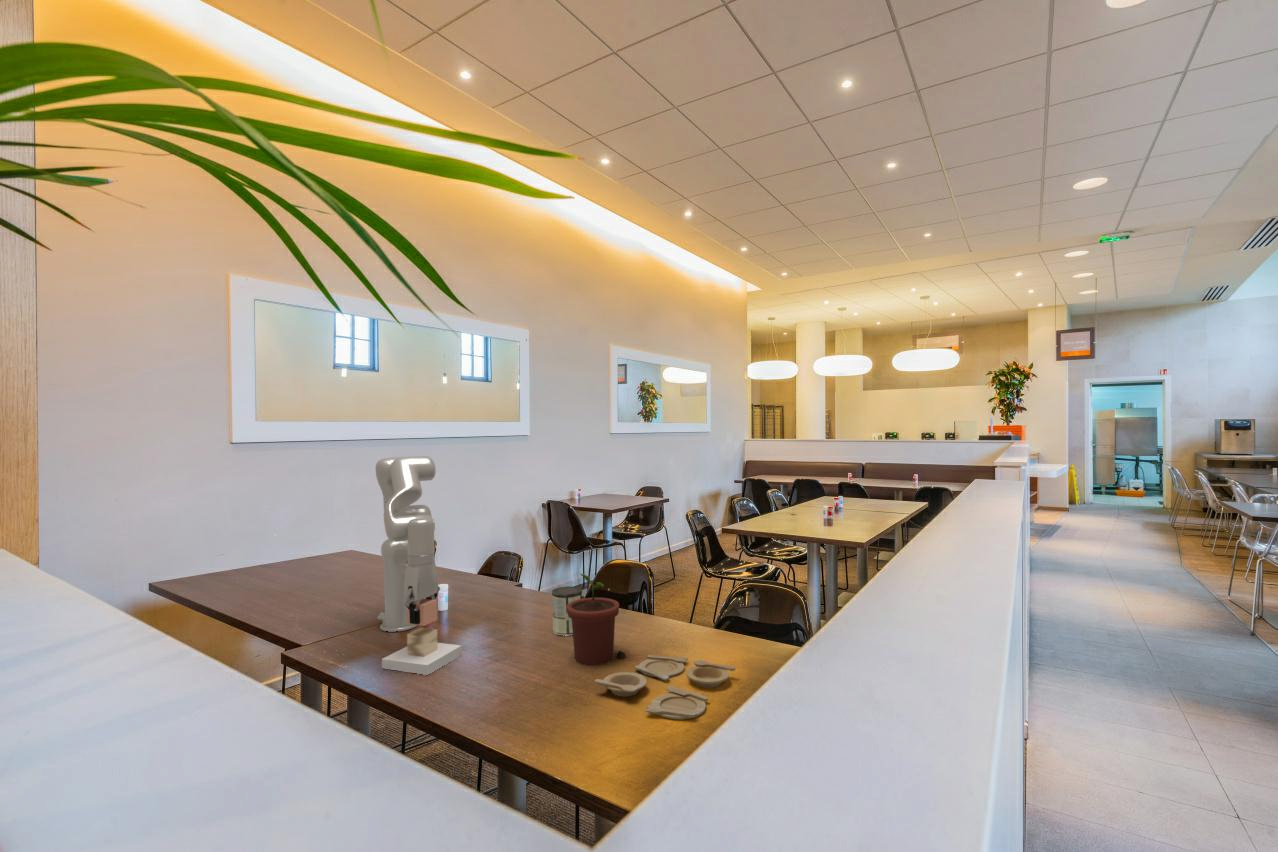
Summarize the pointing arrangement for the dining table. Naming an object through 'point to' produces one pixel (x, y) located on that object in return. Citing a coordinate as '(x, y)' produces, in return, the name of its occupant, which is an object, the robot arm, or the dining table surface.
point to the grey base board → (422, 659)
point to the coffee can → (563, 609)
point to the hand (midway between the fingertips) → (422, 619)
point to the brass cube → (422, 642)
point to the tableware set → (678, 700)
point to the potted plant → (594, 628)
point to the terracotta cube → (425, 612)
